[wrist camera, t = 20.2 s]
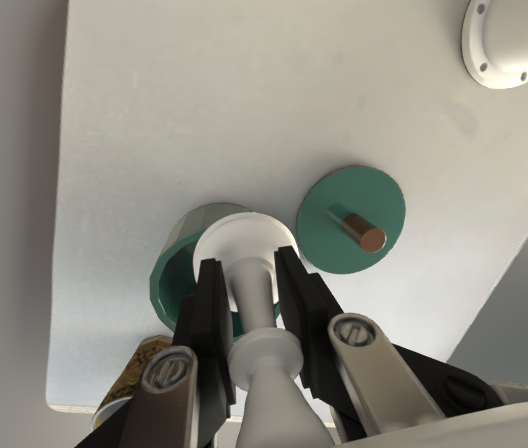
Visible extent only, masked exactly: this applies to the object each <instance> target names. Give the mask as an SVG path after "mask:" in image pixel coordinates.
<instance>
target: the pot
mask: <svg viewBox="0 0 528 448" xmlns="http://www.w3.org/2000/svg"><path fill="white" fill-rule="evenodd" d="M243 212H252V211H251V210H249V209H247V208H245V207H242V206H239V205H236V204H230V203H213V204H208V205H204V206H201V207H199V208H196V209H194V210H193V211H191V212H189V213H188V214H186V215H185V216H184V217H183V218H182V219H181V220H180V221H179V222H178V223H177V224H176V225H175V226H174V228H173V229H172V231H171V233H170V236H169V238H168V240H167V242H166V244H165V246H164V248H163V250H162V252H161V254H160V256H159V258H158V260H157V263H156V265H155V267H154V269H153V272H152V274H151V276H150V301H151V303H152V305H153V307H154V309H155V311H156V313H157V316H158V318H159V319H160V320H161V321H162V322H163V323H164V324H165V325H166V326H167V327H168V328H169V329H171V330H172V331H173V332H175V328H176V323H177V319H178V315H179V311H180V306H181V302H182V298H183V297H184V296H187V295H192V294H195V293H196V287H197V283H196V280H195V276H194V267H193V256H194V251H195V248H196V245H197V243H198V241H199V239H200V238H201V236H202V235H203V233H204V232H205V231H206V230H207V229H208V228H209V227H210V226H211V225H213V224H214V223H215V222H217V221H218V220H220V219H222V218H224V217H227V216H229V215H233V214H237V213H243ZM274 310H275V319H277V317H278V315H279V314H280V308H279V301H278V302H276V303H275V304H274ZM231 315H232V325H233V343H235V342H236V341H237V340H238V339H239V338H241V337H242V336H244V334H243V329H242V325H241V321H240V318H239V314H238V312H234V311H231Z"/></svg>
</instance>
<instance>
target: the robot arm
mask: <svg viewBox="0 0 528 448" xmlns="http://www.w3.org/2000/svg"><path fill="white" fill-rule="evenodd" d="M462 54H463V58H464V62H465V65H466V67H467V69H468V71H469V73H470V74H471V76H472V77H473V78H474V79H475V80H476V81H477V82H478V83H480V84H481V85H483V86H486V87H488V88H494V89H502V88H511V87H514V86H518V85H521V84H523V83H525V82H527V81H528V0H471V1H470V4H469V7H468V9H467V12H466V15H465V20H464V24H463V30H462ZM274 261H275V271H276V281H277V290H278V300H279V308H280V313H281V316H282V320H283V323H284V326H285V329H286V330H287V331H289V332H291V333H293V334H294V335H295V336H296V337H297V338H298V339H299V340H300V342H301V349H302V353H303V366H302V369H301V371H300V373H299V375H300V378H301V382H302V385H303V387H304V389H306V388H310V391H311V394H312V397H313V399H315V398H319V399H320V400H322V401H323V402H325V403H327V404H329V407H330V412H331V415H332V417H333V420H334V423H335V426H336V429H337V431H338V434H339V437H340V440H341V443H342V444H339V445H335V446H331V447H327V448H528V385H521V384H515V383H508V382H501V381H494V380H492V382H491V385H488V384H487V383H485V382H484V381H482V380H481V379H479V378H478V377H477V376H475V375H473V374H471V373H469V372H466V371H464V370H461V369H459V368H456V367H454V366H451V365H448V364H446V363H443V362H440V361H438V360H435V359H432V358H430V357H427V356H425V355H422V354H419V353H417V352H414V351H411V350H409V349H406V348H403V347H401V346H398V345H395V344H393V343H391V342H390V341H389V339H388V338H387V337H386V335H385V334H384V333H383V331H382V330H381V329H380V327H379V326H378V325H377V324H376V323H375V322H374V321H373V320H371V319H370V318H368V317H366V316H364V315H361V314H356V313H344V312H343V310H342V309H341V307H340V305H339V304H338V302H337V301H336V299H335V298H334V296H333V295H332V293H331V292H330V290H329V288H328V287H327V285H326V284H325V282H324V281H323V279H322V278H321V276H320V275H319V273H311V274H308V272H307V271H306V269H305V267H304V265H303V264H302V262H301V260H300V259H299V257H298V255H297V253H296V252H295V250H294V248H293V246H292V245H289V246H283V247H278V251H274ZM232 346H233V325H232V315H231V310H230V305H229V299H228V294H227V289H226V284H225V278H224V273H223V268H222V263H221V260H220V261H216V259H215V258H210V259H204V260H201V262H200V268H199V275H198V281H197V287H196V293H195V294H192V295H187V296H184V297H183V298H182V302H181V306H180V311H179V315H178V319H177V323H176V328H175V332H174V336H173V341H172V345H171V347H170V348H166V349H164V350H162V351H161V352H159V353H157V354H156V355H155V356H153V357H152V358H151V359H150V360H149V361H148V362H147V364H146V365H145V366H144V368H143V370H142V372H141V374H140V377H139V380H138V384H137V387H136V390H135V393H134V396H133V397H132V398H130V399H129V400H128V401H127V402H126V403H125V404H124V405H122V406H121V407H120V408H119V409H118V410H117V411H116V412H114V413H113V414H112V415H111V416H110V417H109V418H108V419H106V420H105V421H104V422H103V423H102V424H101V425H100V426H98V427H97V428H96V429H95V430H94V431H93V432H92V433H90V434H89V435H88V436H87V437H86V438H85V439H84V440H83V441H81V442H80V443H79V444H78V445H77V446H76V447H74V448H218V435H217V431H218V430H219V429H220V427H221V426H222V425H223V423H224V422H225V421H226V419H227V418H230V405H234V404H236V386H235V384H234V383H233V381H232V380H231V377H230V374H229V370H228V365H227V355H228V353H229V350H230V349H231V347H232Z"/></svg>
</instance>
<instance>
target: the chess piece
mask: <svg viewBox="0 0 528 448" xmlns="http://www.w3.org/2000/svg"><path fill="white" fill-rule="evenodd" d="M289 245H292V246H293V248H294V250H295V252H296V253H297V255H298V257H299V252H298V248H297V245H296V242H295V239H294V237H293V235H292V234H291V232H290V231H289V230H288V229H287V228H286V227H285V226H284V225H283V224H282V223H281V222H279V221H278V220H276V219H275V218H273V217H270V216H268V215H265V214H261V213H254V212H243V213H237V214H233V215H229V216H227V217H224V218H222V219H220V220H218V221H217V222H215V223H214V224H213V225H211V226H210V227H209V228H208V229H207V230H206V231H205V232H204V233H203V235H202V236H201V238H200V239H199V241H198V243H197V245H196V248H195V251H194V256H193V267H194V276H195V280H196V283H197V281H198V275H199V268H200V262H201V260H204V259H210V258H215V259H216V261H220V260H221V263H222V268H223V273H224V278H225V284H226V289H227V294H228V299H229V305H230V310H231V311H234V312H238V314H239V318H240V321H241V325H242V329H243V334H244V336H242V337H241V338H239V339H238V340H237V341H236V342H235V343H234V344H233V346H232V347H231V349H230V350H229V353H228V355H227V365H228V370H229V374H230V377H231V380H232V381H233V383H234V384H235V385H236V386H237V387H239V388H240V389H242V390H244V391H247V392H248V394H247V397H246V401H245V408H244V416H243V420H242V425H241V429H240V432H239V435H238V438H237V442H236V447H235V448H327V447H331V446H335V443H334V441H333V438H332V437H331V435H330V433H329V431H328V430H327V428H326V427H325V425H324V424H323V422H322V421H321V419H320V418H319V416H318V415H317V414H316V413H315V412H314V411H313V410H312V408H311V407H310V405H309V404H308V402H307V401H306V400H305V398H304V396H303V394H302V392H301V391H300V389H299V387H298V386H297V385H296V384H295V382H294V381H293V380H294V379H295V378H296V377H297V376H298V374H299V373H300V371H301V369H302V366H303V353H302V349H301V342H300V340H299V339H298V338H297V337H296V336H295V335H294V334H293V333H291V332H289V331H287V330H284V329H281V328H277V325H276V319H275V310H274V304H275V303H276V302H278V301H279V300H278V290H277V281H276V271H275V261H274V251H278V247H283V246H289ZM299 259H300V257H299Z"/></svg>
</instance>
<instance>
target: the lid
mask: <svg viewBox="0 0 528 448" xmlns="http://www.w3.org/2000/svg"><path fill="white" fill-rule="evenodd" d="M405 217H406V205H405V200H404V196H403V193H402V191H401V189H400V187H399V186H398V184H397V183H396V182H395V181H394V180H393V179H392V178H391V177H390V176H389V175H387V174H386V173H384V172H382V171H380V170H377V169H374V168H370V167H364V166H355V167H348V168H343V169H341V170H338V171H335V172H333V173H331V174H329V175H328V176H326V177H325V178H323V179H322V180H321V181H319V182H318V183H317V184H316V185H315V186H314V187H313V188H312V189H311V190H310V192H309V193H308V194H307V196H306V197H305V199H304V201H303V203H302V204H301V207H300V209H299V212H298V216H297V221H296V237H297V241H298V244H299V247H300V249H301V251H302V253H303V254H304V256H305V257H306V259H307V260H308V261H309V262H310V263H311V264H313V265H314V266H315V267H317V268H319V269H320V270H323V271H325V272H329V273H333V274H350V273H355V272H359V271H362V270H365V269H367V268H369V267H371V266H373V265H374V264H376V263H377V262H379V261H380V260H381V259H382V258H384V257H385V256H386V255H387V254H388V253H389V252H390V250H391V249H392V248H393V247H394V245H395V244H396V242H397V241H398V239H399V237H400V235H401V232H402V230H403V227H404V223H405Z"/></svg>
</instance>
